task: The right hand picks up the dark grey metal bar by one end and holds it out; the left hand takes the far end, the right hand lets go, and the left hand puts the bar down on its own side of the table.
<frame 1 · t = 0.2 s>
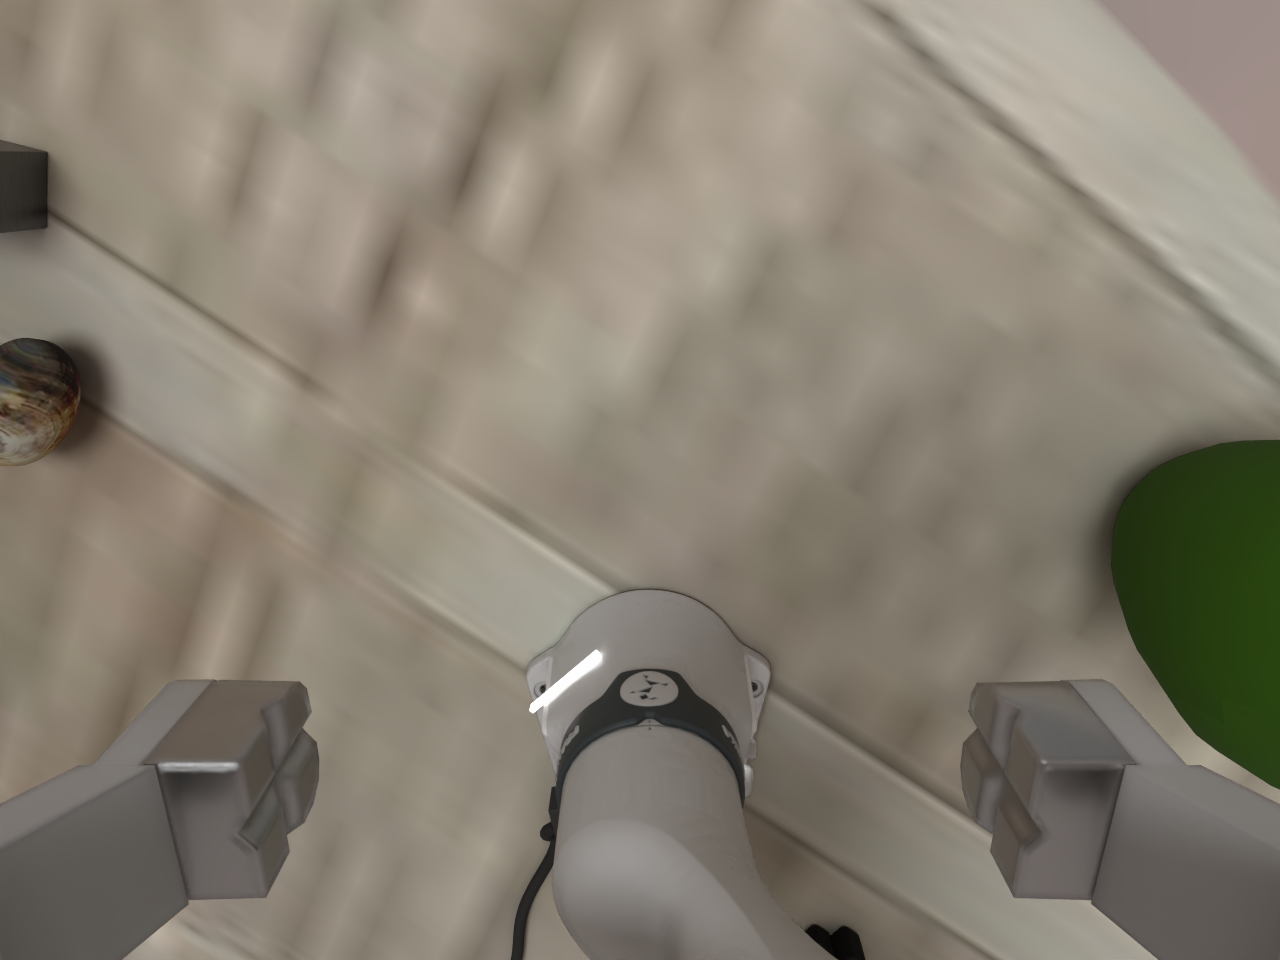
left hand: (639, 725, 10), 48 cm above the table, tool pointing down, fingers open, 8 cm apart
seashell: (60, 388, 58), on the table
vase: (1175, 513, 61), on the table
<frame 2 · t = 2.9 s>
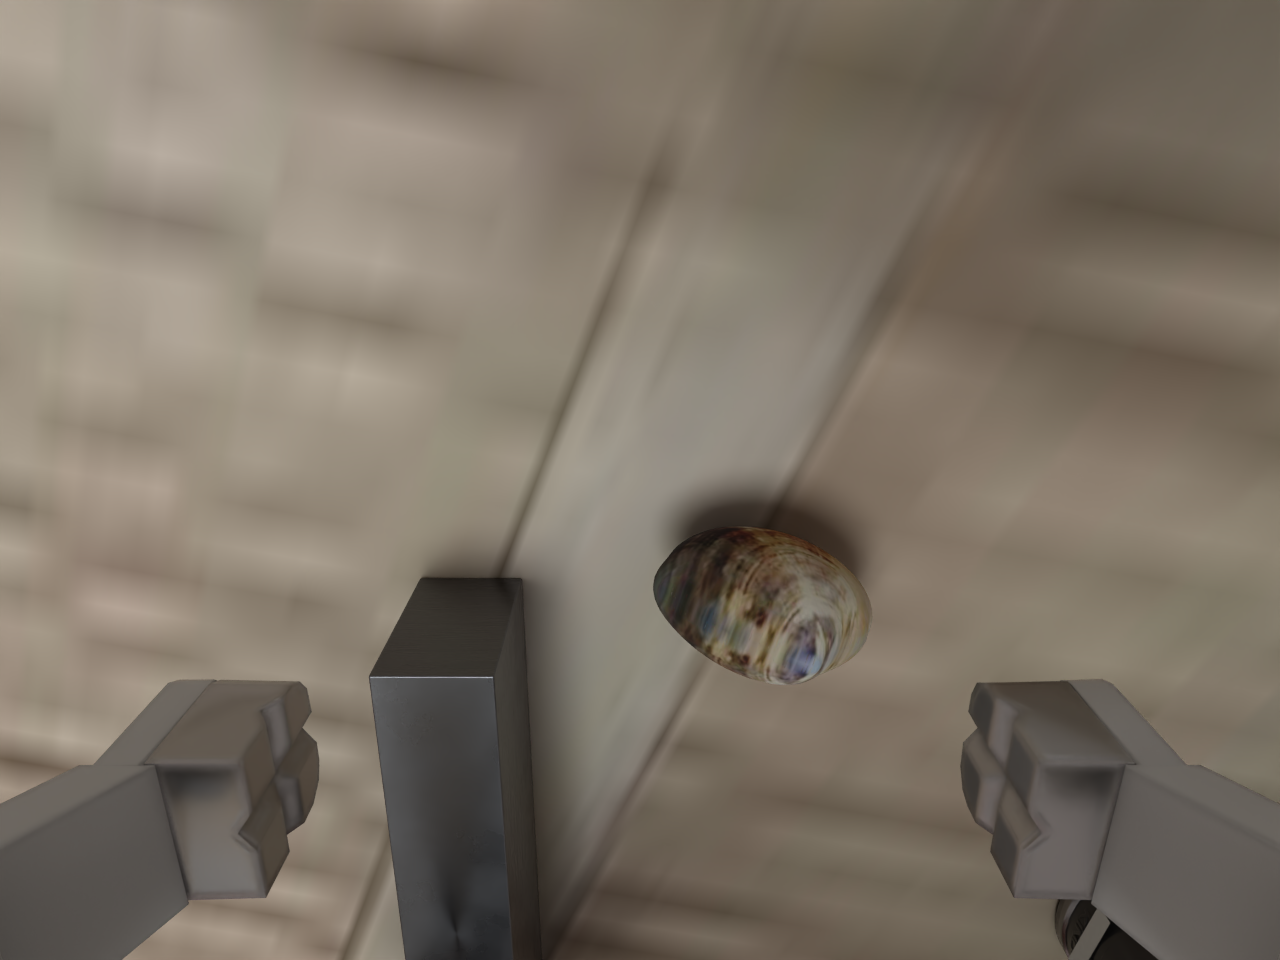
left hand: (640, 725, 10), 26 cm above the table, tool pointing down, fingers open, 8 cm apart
seashell: (752, 559, 39), on the table
bar: (488, 801, 44), on the table, touching right hand
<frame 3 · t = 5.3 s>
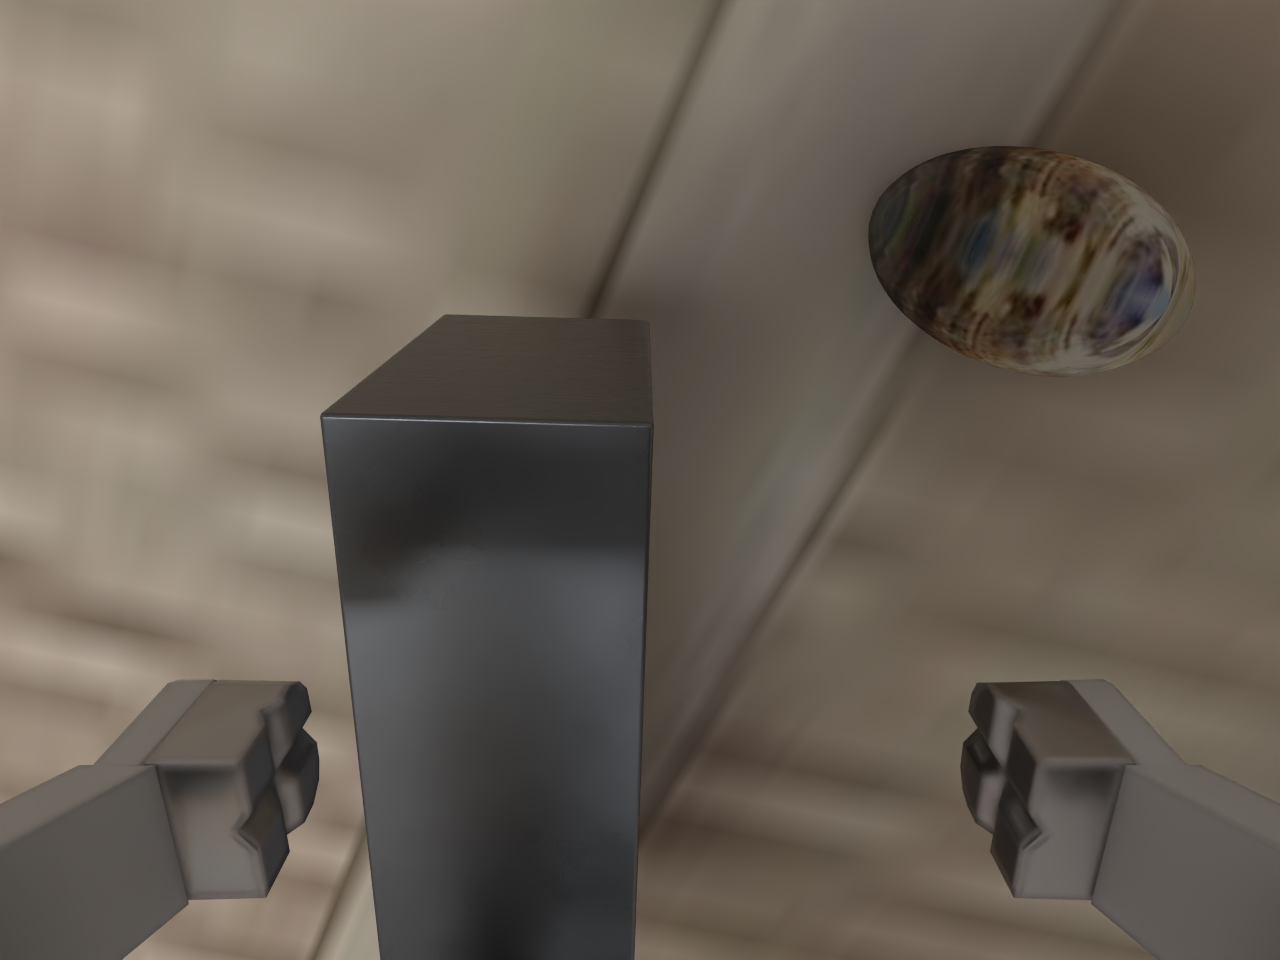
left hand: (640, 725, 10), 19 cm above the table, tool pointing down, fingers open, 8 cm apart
seashell: (975, 249, 27), on the table
bar: (551, 773, 24), point 9 cm above the table, touching right hand
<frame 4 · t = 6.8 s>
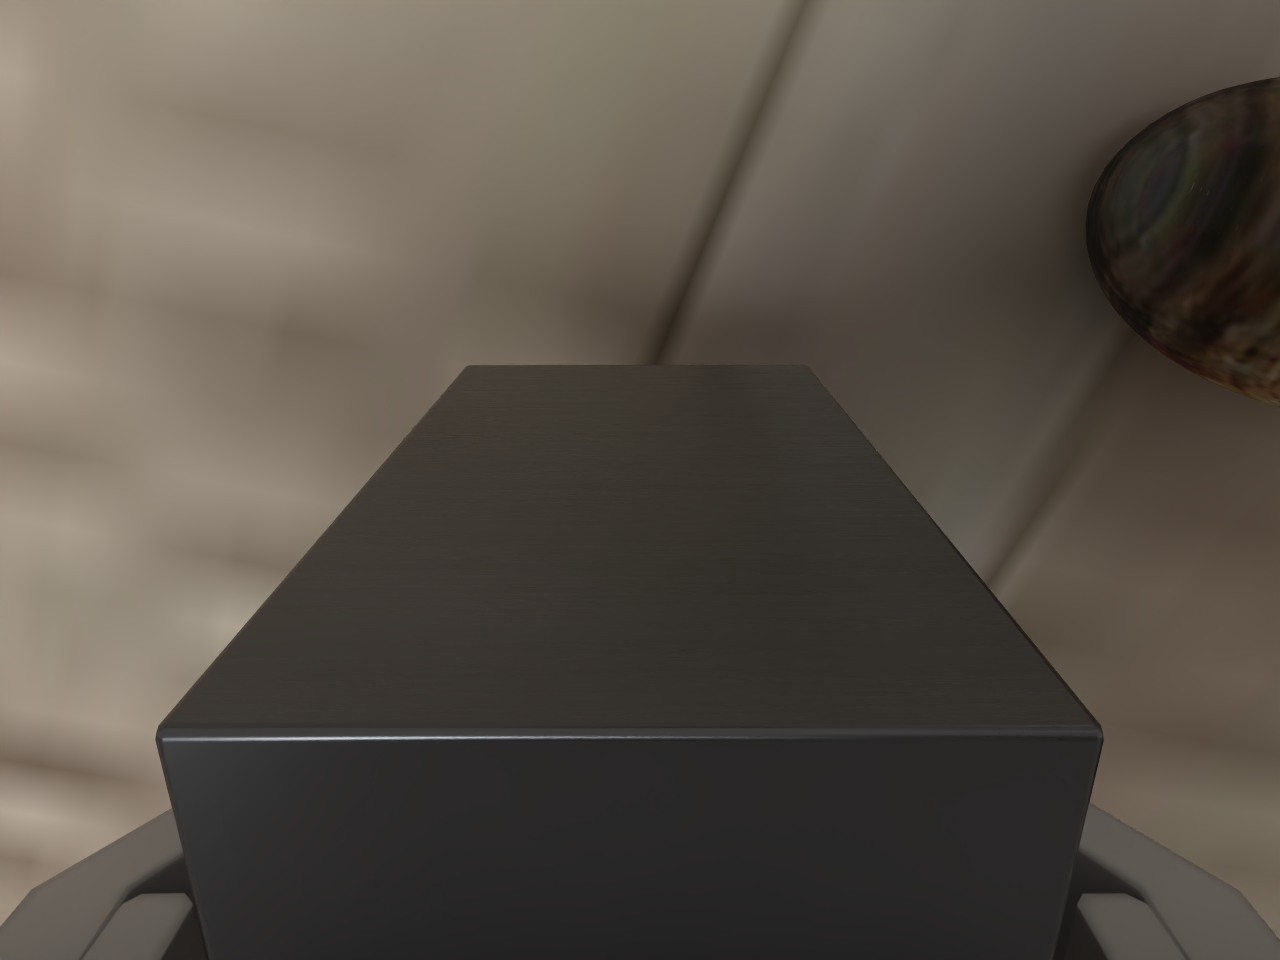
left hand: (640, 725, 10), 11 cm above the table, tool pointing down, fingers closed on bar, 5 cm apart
seashell: (1203, 236, 19), on the table
when the right hand's fingers open (12 cm above the table, at t = 7.9 s): bar stays where it is, held by the left hand.
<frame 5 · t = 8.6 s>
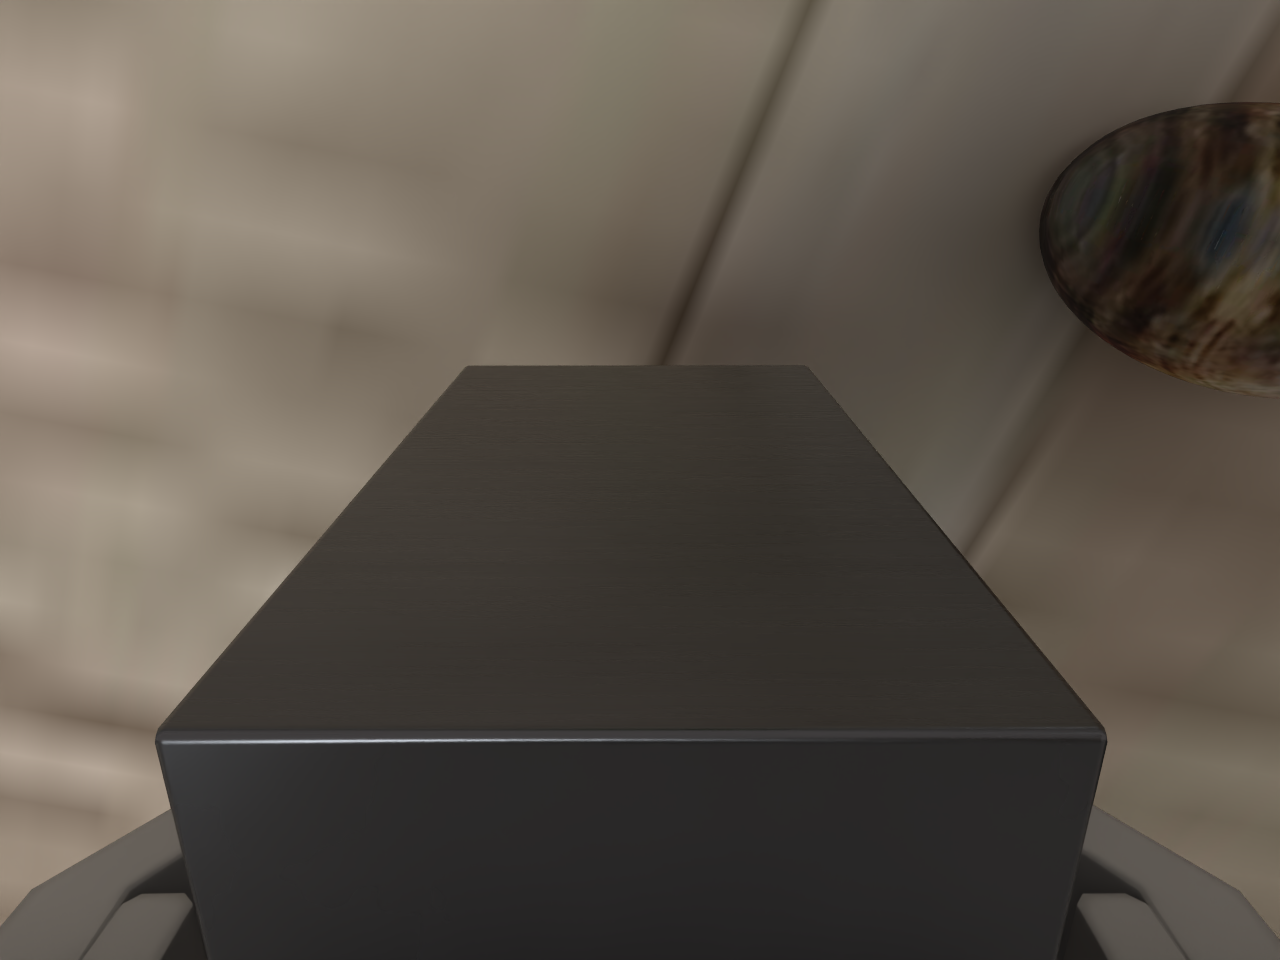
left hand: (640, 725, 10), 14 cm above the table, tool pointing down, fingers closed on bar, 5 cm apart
seashell: (1149, 241, 22), on the table
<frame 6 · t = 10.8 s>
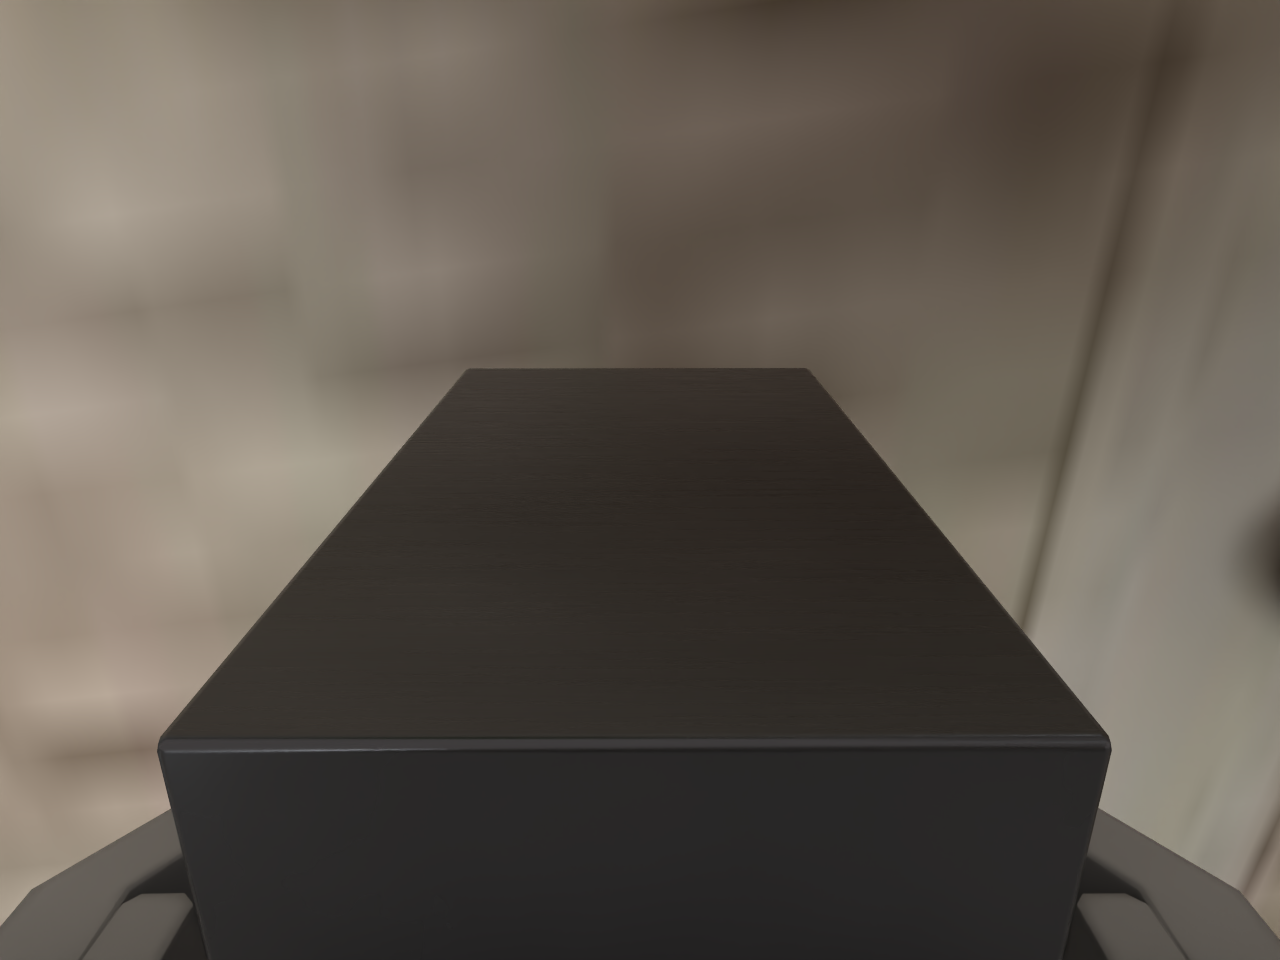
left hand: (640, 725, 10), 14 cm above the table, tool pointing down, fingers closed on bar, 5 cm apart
when the left hand's fingers open (5 cm above the table, at t = 15.0 s): bar drops 1 cm, on the table.
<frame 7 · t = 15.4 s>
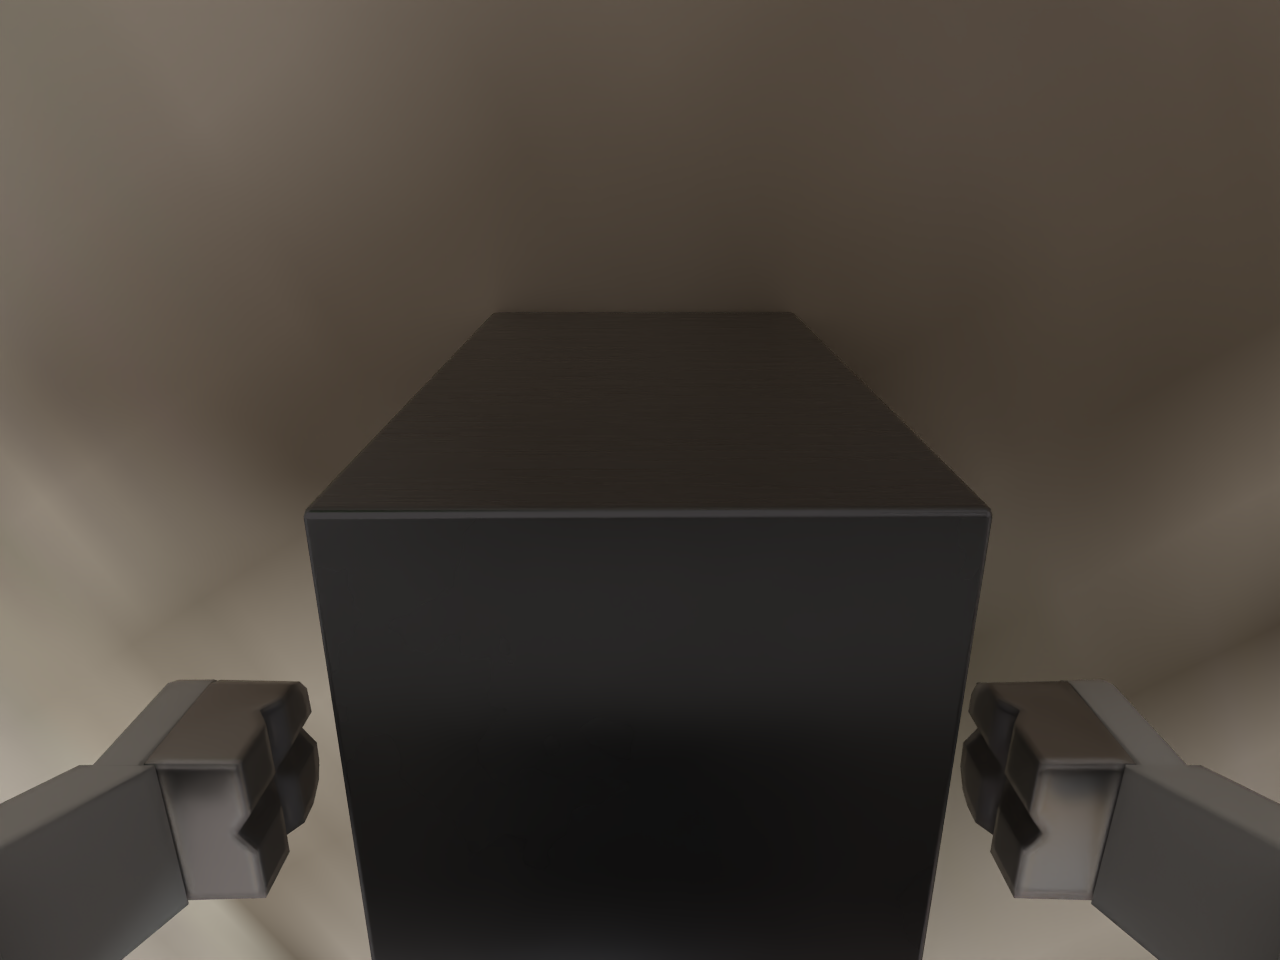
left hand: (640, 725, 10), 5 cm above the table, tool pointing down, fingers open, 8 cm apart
bar: (643, 930, 18), on the table
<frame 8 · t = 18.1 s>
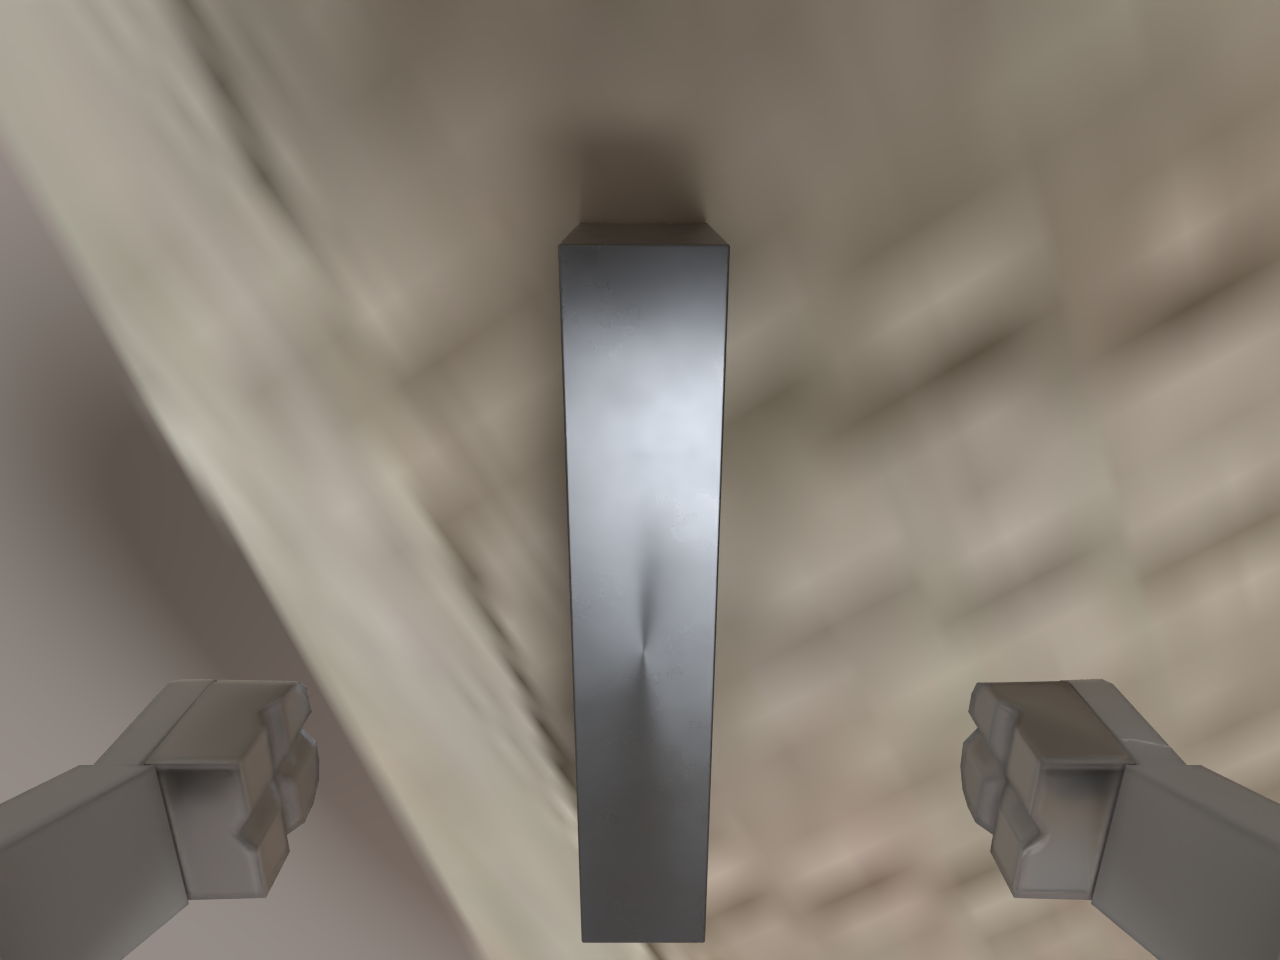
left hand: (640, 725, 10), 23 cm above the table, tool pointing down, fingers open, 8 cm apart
bar: (643, 546, 35), on the table
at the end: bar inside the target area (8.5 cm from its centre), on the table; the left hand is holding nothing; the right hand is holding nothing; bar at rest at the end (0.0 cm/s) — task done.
